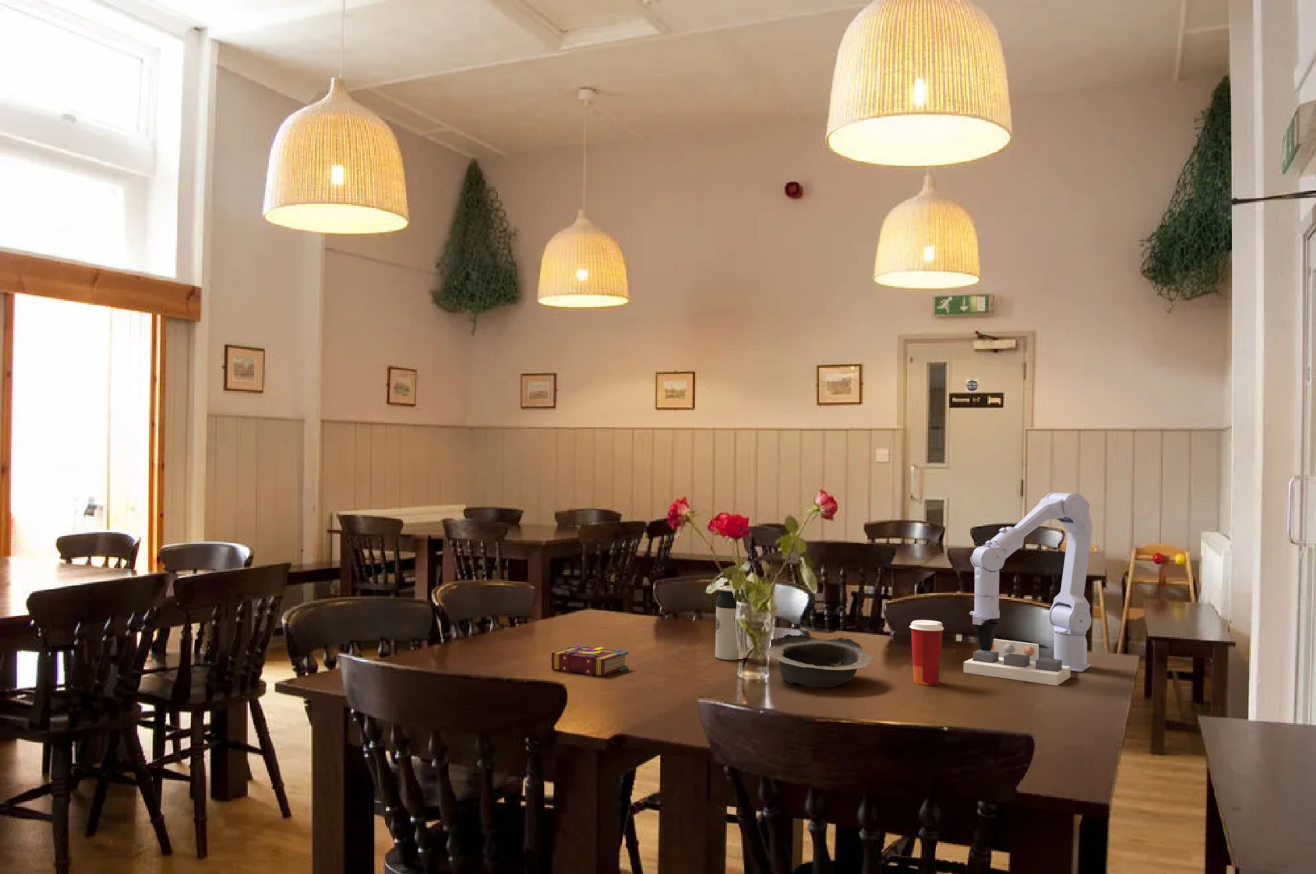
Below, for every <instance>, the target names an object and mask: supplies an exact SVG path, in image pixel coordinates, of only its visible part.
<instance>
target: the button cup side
mask: <svg viewBox="0 0 1316 874" xmlns="http://www.w3.org/2000/svg"><path fill="white" fill-rule="evenodd" d="M1036 669H1039V670H1046V671H1054V672H1058V671H1060V670H1062V660H1058V659H1054V658H1050V657H1040V658H1039V659H1037V660H1036Z"/></svg>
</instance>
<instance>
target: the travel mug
mask: <svg viewBox="0 0 1316 874" xmlns="http://www.w3.org/2000/svg"><path fill="white" fill-rule="evenodd" d="M721 586H722V587H720V586H719V587H720V589H717V590H718V596H717V598H716V601H715V608H716V609H715V649H714V650H715V651H714V653H715V657H716V658H717V659H719V660H723V661H738V660H737V640H736V634H735V622H734V616H735V609H736V602H735V600H734V598H733V593H732V589H731V586H732V585H721Z"/></svg>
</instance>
